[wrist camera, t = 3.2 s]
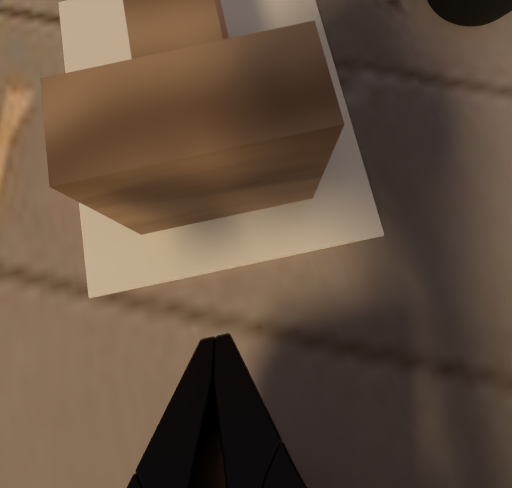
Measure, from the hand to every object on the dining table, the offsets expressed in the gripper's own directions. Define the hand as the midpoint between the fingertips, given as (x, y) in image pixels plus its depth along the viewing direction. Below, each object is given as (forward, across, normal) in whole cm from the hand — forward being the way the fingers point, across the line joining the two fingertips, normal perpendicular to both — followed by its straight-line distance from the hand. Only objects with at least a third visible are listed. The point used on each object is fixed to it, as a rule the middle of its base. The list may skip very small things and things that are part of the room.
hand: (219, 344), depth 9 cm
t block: (+18, 0, -2) cm, 18 cm away
